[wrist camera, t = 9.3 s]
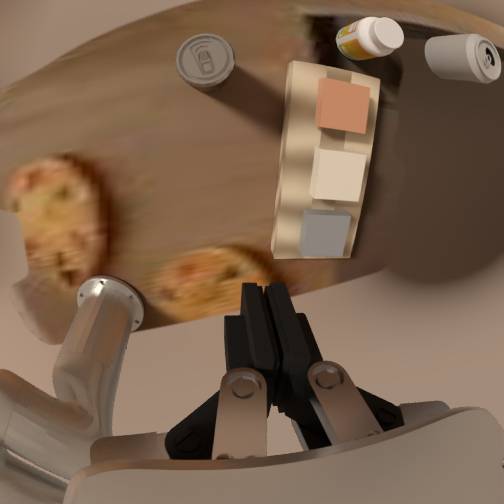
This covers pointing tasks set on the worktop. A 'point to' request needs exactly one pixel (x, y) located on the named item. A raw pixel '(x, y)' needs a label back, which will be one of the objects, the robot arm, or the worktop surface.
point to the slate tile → (323, 232)
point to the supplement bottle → (369, 38)
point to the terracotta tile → (342, 105)
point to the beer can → (205, 61)
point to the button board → (302, 155)
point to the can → (463, 58)
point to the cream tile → (337, 174)
